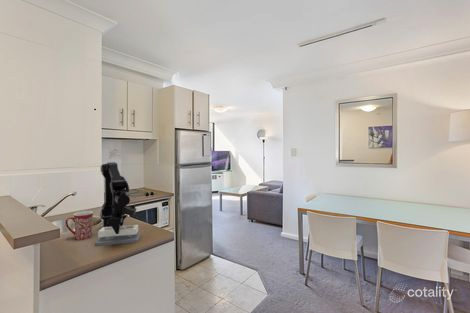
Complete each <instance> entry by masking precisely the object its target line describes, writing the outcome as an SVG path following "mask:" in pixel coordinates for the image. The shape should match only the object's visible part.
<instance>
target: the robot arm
mask: <svg viewBox="0 0 470 313" xmlns="http://www.w3.org/2000/svg"><path fill="white" fill-rule="evenodd" d="M100 173H101V175H102V177H103V178H104V202H103V204H102V206H101V209H100V213H99V219H100V220H102V225H103V226H102V227H112V228H113V229H114V231H115V233H116V234H119V229H120V226H124V222H125V219H126V218H127V217H128V216H130V217H134V216H135V215H136V213H137V208H136V205H134V204H132V205H131V206H130V205H129V203H130V202H131V199H130V198H131V197H130V196H129V195H127V193H130V187H129V183H128V181H127V180H126V178H125V177H124V176H122V175H121V173H120V171H119V168H118V162H113V161H112V162H111V161H110V162H106V163H103V164H101V166H100ZM128 205H129V206H128Z"/></svg>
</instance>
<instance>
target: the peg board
mask: <svg viewBox="0 0 470 313" xmlns="http://www.w3.org/2000/svg"><path fill="white" fill-rule="evenodd" d="M141 235H142V232H137V234H134V235H121V236H108V237H98V239H97V240H96V241H95V242H94V247H100V246H111V245H123V244H133V243H138V242H139V240H140V238H141Z"/></svg>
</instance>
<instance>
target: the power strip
mask: <svg viewBox="0 0 470 313" xmlns="http://www.w3.org/2000/svg"><path fill="white" fill-rule="evenodd" d="M138 231H139V224H132V225H123V226H120V229H119V234H116V233H115V231H114V229H113V228H112V227H103V226H101V228H100V229H99V230H98V234H97V236H98V238H100V237H108V236H121V235H134V234H137V233H139V232H138Z"/></svg>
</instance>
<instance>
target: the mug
mask: <svg viewBox="0 0 470 313" xmlns="http://www.w3.org/2000/svg"><path fill="white" fill-rule="evenodd" d="M93 215H94V212H93V211H91V210H87V211H86V210H85V211H78V212H75V213H73V216H69V217H68V218H66V220H65V227H66V228H67V229H68V231H69V232H70V233H71V234H73V235H74V237H75V238H74V239H75V240H80V241H81V240H87V239H89V238H91V237H92V228H93ZM69 220H72V221H73V222H74V230H73V229H72V228H71V227H70V226H69V224H68V222H69Z"/></svg>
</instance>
